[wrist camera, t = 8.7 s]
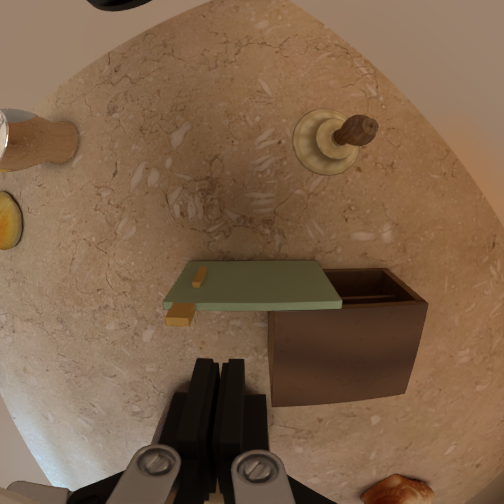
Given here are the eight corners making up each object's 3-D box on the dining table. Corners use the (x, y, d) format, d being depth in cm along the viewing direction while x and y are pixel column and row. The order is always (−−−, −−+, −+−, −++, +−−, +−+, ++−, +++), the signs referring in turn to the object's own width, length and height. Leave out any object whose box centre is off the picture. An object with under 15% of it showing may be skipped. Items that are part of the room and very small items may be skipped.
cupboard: (268, 269, 40) (274, 311, 28) (386, 267, 40) (428, 303, 28) (267, 350, 43) (271, 407, 32) (374, 344, 43) (404, 393, 31)
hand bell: (304, 183, 37) (339, 195, 22) (283, 118, 35) (304, 85, 20) (366, 165, 36) (432, 168, 21) (346, 102, 34) (402, 67, 19)
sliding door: (188, 256, 39) (151, 310, 24) (316, 255, 39) (353, 308, 24) (189, 267, 40) (154, 325, 24) (316, 266, 40) (351, 324, 24)
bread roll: (11, 256, 40) (-4, 263, 36) (-15, 217, 38) (-30, 221, 34) (32, 222, 38) (16, 227, 34) (5, 181, 37) (-12, 183, 33)
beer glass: (89, 147, 36) (17, 144, 21) (55, 177, 37) (-19, 188, 22) (70, 108, 34) (-2, 92, 20) (37, 139, 35) (-36, 137, 21)
